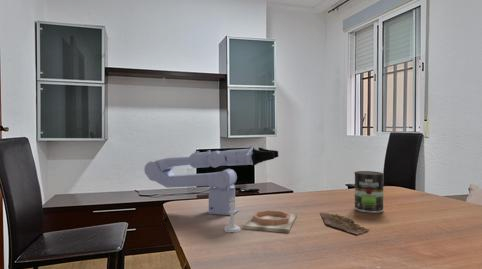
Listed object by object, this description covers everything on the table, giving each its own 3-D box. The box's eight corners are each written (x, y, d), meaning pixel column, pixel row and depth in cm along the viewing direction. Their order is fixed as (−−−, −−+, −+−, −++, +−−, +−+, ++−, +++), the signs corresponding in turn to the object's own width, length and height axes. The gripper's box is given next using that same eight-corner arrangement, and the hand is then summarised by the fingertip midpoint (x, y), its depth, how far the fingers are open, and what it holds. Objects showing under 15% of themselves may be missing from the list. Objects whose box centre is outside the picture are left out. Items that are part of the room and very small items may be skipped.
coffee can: (384, 214, 114) (384, 175, 114) (353, 211, 118) (353, 173, 118) (383, 207, 123) (383, 171, 123) (355, 205, 127) (355, 170, 127)
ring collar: (250, 223, 100) (250, 218, 100) (258, 213, 111) (258, 209, 111) (286, 226, 97) (286, 221, 97) (291, 216, 108) (291, 211, 108)
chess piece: (223, 227, 99) (223, 195, 99) (239, 227, 99) (239, 195, 99) (224, 232, 94) (224, 199, 94) (240, 232, 94) (240, 198, 94)
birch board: (243, 228, 98) (243, 225, 98) (257, 214, 115) (257, 211, 115) (289, 232, 94) (289, 229, 94) (296, 217, 111) (296, 214, 111)
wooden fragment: (376, 235, 92) (376, 231, 92) (339, 237, 90) (339, 233, 90) (338, 213, 117) (338, 210, 117) (309, 214, 116) (309, 211, 116)
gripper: (232, 147, 109) (270, 144, 105) (244, 145, 123) (278, 142, 119) (233, 167, 109) (272, 165, 105) (245, 163, 122) (280, 161, 118)
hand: (276, 154), depth 112 cm, fingers open, 7 cm apart
